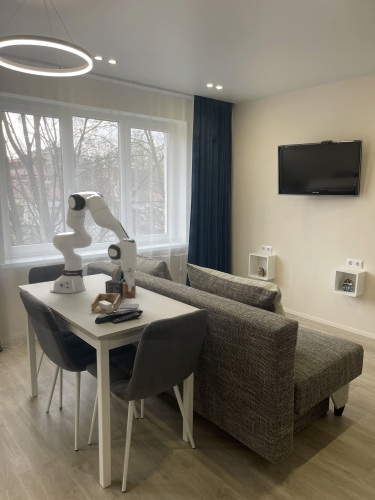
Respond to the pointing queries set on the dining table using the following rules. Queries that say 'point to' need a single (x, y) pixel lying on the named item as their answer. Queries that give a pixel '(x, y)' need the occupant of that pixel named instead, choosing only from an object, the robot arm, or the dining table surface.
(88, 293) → the dining table surface
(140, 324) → the dining table surface
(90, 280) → the dining table surface
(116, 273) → the alarm clock
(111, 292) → the small box
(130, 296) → the wooden block
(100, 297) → the wooden tray
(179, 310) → the dining table surface
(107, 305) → the offcut top
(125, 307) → the pad
